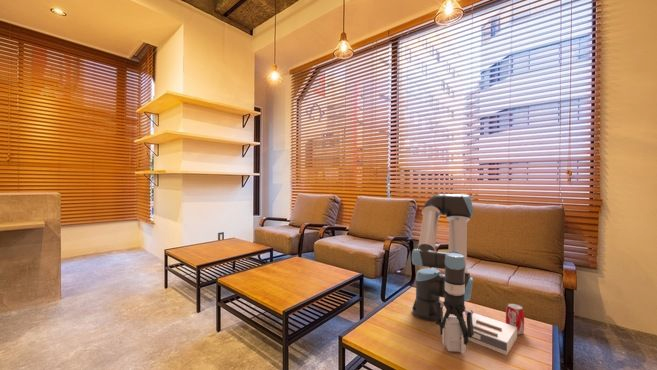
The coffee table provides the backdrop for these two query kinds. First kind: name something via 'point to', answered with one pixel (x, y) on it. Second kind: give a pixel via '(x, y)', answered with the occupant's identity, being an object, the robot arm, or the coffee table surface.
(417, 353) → the coffee table surface
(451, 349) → the skincare box
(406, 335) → the coffee table surface
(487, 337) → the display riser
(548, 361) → the coffee table surface
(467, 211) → the robot arm
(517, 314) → the soda can
